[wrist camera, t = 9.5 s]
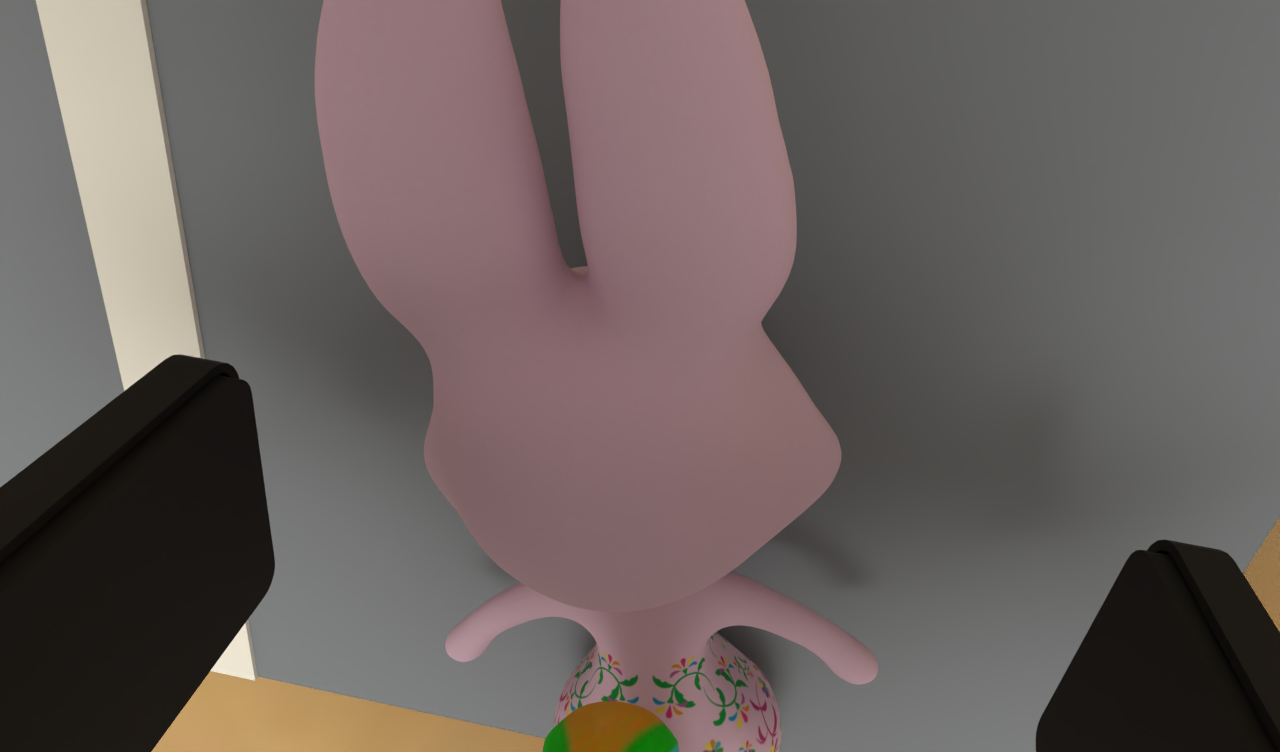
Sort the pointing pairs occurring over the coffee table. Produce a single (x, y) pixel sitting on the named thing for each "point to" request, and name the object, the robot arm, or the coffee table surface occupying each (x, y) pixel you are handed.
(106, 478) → the robot arm
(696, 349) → the rabbit figure
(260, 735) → the coffee table surface
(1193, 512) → the mat
